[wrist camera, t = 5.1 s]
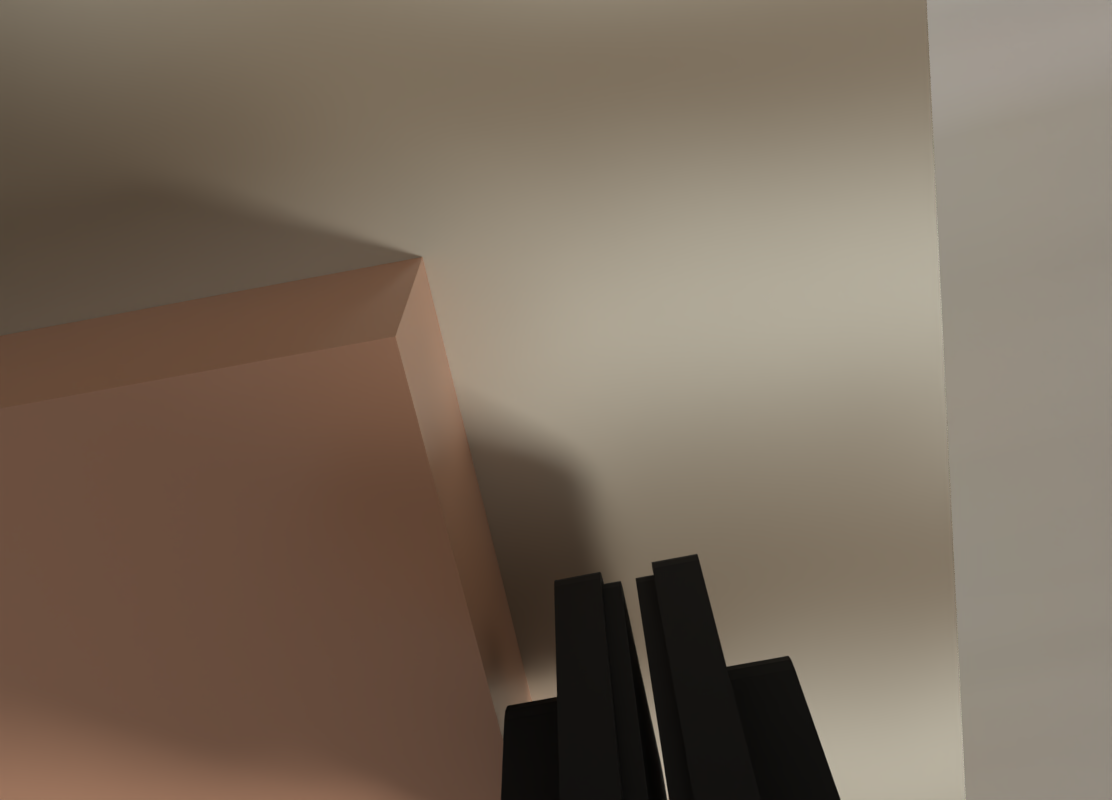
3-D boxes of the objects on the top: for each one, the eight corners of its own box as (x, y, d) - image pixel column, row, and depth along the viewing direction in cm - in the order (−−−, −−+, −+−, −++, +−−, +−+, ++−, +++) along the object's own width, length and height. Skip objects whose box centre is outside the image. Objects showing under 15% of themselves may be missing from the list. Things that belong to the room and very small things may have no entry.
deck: (-340, -173, 13) (-682, -212, 9) (788, -440, 12) (896, -597, 8) (229, 1004, 22) (169, 1218, 18) (903, 901, 21) (980, 1106, 17)
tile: (-193, 372, 12) (-361, 474, 10) (422, 256, 11) (395, 336, 9) (122, 977, 16) (56, 1146, 14) (583, 909, 15) (592, 1072, 13)
